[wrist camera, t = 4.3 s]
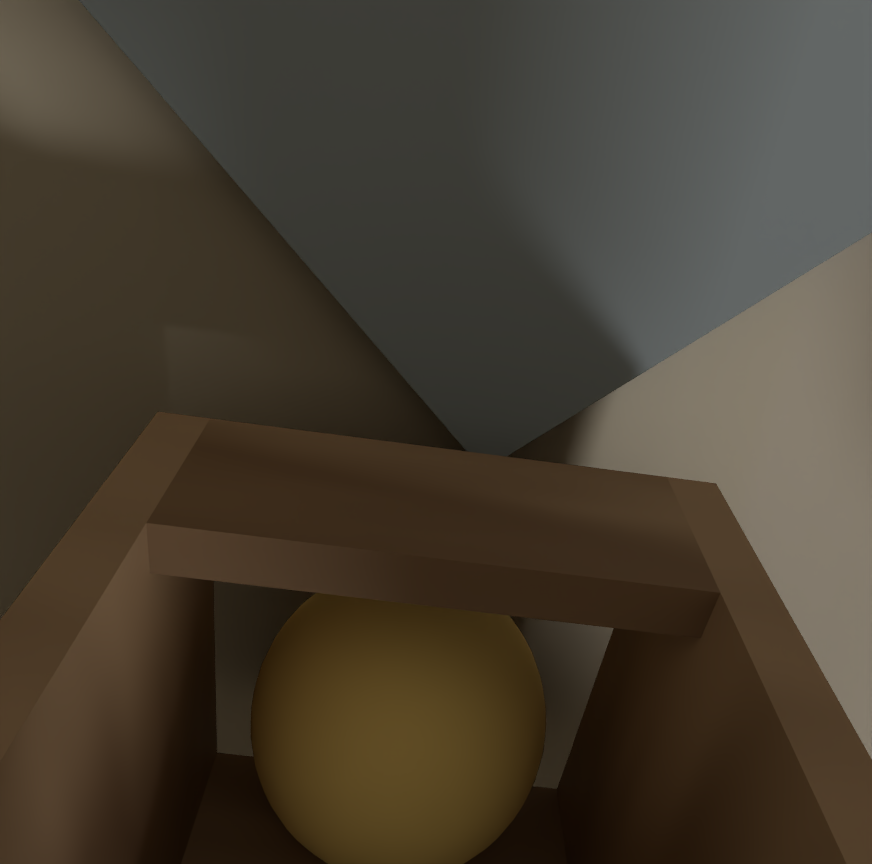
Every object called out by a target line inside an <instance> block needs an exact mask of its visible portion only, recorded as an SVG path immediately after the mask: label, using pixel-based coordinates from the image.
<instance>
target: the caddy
mask: <svg viewBox="0 0 872 864" xmlns="http://www.w3.org/2000/svg"><path fill="white" fill-rule="evenodd" d="M214 581H220V582H229V583H237V584H246V585H254V586H263V587H271V588H280V589H288V590H296V591H305V592H313V593H322V594H330V595H339V596H347V597H356V598H364V599H373V600H381V601H390V602H398V603H406V604H415V605H423V606H432V607H440V608H449V609H457V610H466V611H474V612H483V613H491V614H500V615H508V616H517V617H525V618H533V619H542V620H550V621H559V622H567V623H576V624H584V625H593V626H601V627H610V628H614V629H613V632H612V635H611V638H610V640H609V643H608V646H607V649H606V652H605V655H604V658H603V660H602V663H601V666H600V669H599V672H598V675H597V677H596V680H595V683H594V686H593V689H592V692H591V694H590V697H589V700H588V703H587V706H586V709H585V711H584V714H583V717H582V720H581V723H580V726H579V729H578V731H577V734H576V737H575V740H574V743H573V746H572V748H571V751H570V754H569V757H568V760H567V763H566V765H565V768H564V771H563V774H562V777H561V780H560V782H559V785H558V788H557V789H552V788H542V787H533V786H532V788H531V790H530V793H529V795H528V797H527V799H526V800H525V802H524V804H523V806H522V808H521V809H520V811H519V812H518V814H517V815H516V817H515V818H514V820H513V821H512V822H511V823H510V824H509V826H508V827H507V828H506V829H505V830H504V831H503V833H502V834H501V835H500V836H499V837H498V838H497V839H496V840H495V841H494V842H493V843H492V844H491V845H490V846H489V847H487V848H486V849H485V850H484V851H482V852H481V853H479V854H478V855H476V856H475V857H473V858H472V859H470V860H469V861H467V862H466V863H464V864H872V759H871V758H870V756H869V754H868V752H867V751H866V749H865V747H864V745H863V743H862V742H861V740H860V738H859V736H858V735H857V733H856V731H855V729H854V727H853V726H852V724H851V722H850V720H849V719H848V717H847V715H846V713H845V711H844V710H843V708H842V706H841V704H840V703H839V701H838V699H837V697H836V696H835V694H834V692H833V690H832V688H831V687H830V685H829V683H828V681H827V680H826V678H825V676H824V674H823V672H822V671H821V669H820V667H819V665H818V664H817V662H816V660H815V658H814V656H813V655H812V653H811V651H810V649H809V648H808V646H807V644H806V642H805V641H804V639H803V637H802V635H801V633H800V632H799V630H798V628H797V626H796V625H795V623H794V621H793V619H792V617H791V616H790V614H789V612H788V610H787V609H786V607H785V605H784V603H783V601H782V600H781V598H780V596H779V594H778V593H777V591H776V589H775V587H774V586H773V584H772V582H771V580H770V578H769V577H768V575H767V573H766V571H765V570H764V568H763V566H762V564H761V562H760V561H759V559H758V557H757V555H756V554H755V552H754V550H753V548H752V546H751V545H750V543H749V541H748V539H747V538H746V536H745V534H744V532H743V530H742V529H741V527H740V525H739V523H738V522H737V520H736V518H735V516H734V515H733V513H732V511H731V509H730V507H729V506H728V504H727V502H726V500H725V499H724V497H723V495H722V493H721V491H720V490H719V488H718V486H717V484H716V483H708V482H700V481H692V480H684V479H677V478H669V477H661V476H653V475H646V474H638V473H630V472H622V471H615V470H607V469H599V468H591V467H584V466H576V465H568V464H560V463H553V462H545V461H537V460H529V459H521V458H514V457H506V456H498V455H490V454H483V453H475V452H467V451H459V450H452V449H444V448H436V447H428V446H421V445H413V444H405V443H397V442H389V441H382V440H374V439H366V438H358V437H351V436H343V435H335V434H327V433H320V432H312V431H304V430H296V429H289V428H281V427H273V426H265V425H257V424H250V423H242V422H234V421H226V420H219V419H211V418H203V417H195V416H188V415H180V414H172V413H164V412H157V413H156V415H155V416H154V417H153V419H152V420H151V421H150V423H149V424H148V425H147V426H146V428H145V429H144V430H143V432H142V433H141V434H140V436H139V437H138V438H137V440H136V441H135V442H134V444H133V445H132V446H131V448H130V449H129V450H128V452H127V453H126V454H125V456H124V457H123V458H122V460H121V461H120V462H119V463H118V465H117V466H116V467H115V469H114V470H113V471H112V473H111V474H110V475H109V477H108V478H107V479H106V481H105V482H104V483H103V485H102V486H101V487H100V489H99V490H98V491H97V493H96V494H95V495H94V497H93V498H92V499H91V501H90V502H89V503H88V504H87V506H86V507H85V508H84V510H83V511H82V512H81V514H80V515H79V516H78V518H77V519H76V520H75V522H74V523H73V524H72V526H71V527H70V528H69V530H68V531H67V532H66V534H65V535H64V536H63V538H62V539H61V540H60V542H59V543H58V544H57V545H56V547H55V548H54V549H53V551H52V552H51V553H50V555H49V556H48V557H47V559H46V560H45V561H44V563H43V564H42V565H41V567H40V568H39V569H38V571H37V572H36V573H35V575H34V576H33V577H32V579H31V580H30V581H29V583H28V584H27V585H26V586H25V588H24V589H23V590H22V592H21V593H20V594H19V596H18V597H17V598H16V600H15V601H14V602H13V604H12V605H11V606H10V608H9V609H8V610H7V612H6V613H5V614H4V616H3V617H2V618H1V620H0V864H328V863H326V862H324V861H323V860H321V859H320V858H318V857H317V856H315V855H314V854H313V853H311V852H310V851H309V850H308V849H307V848H305V847H304V846H303V845H302V844H301V843H300V842H298V841H297V840H296V839H295V838H294V837H293V835H292V834H291V833H290V832H289V831H288V830H287V829H286V827H285V826H284V824H283V823H282V822H281V820H280V819H279V817H278V816H277V814H276V813H275V811H274V810H273V808H272V807H271V805H270V803H269V801H268V799H267V797H266V795H265V793H264V790H263V787H262V785H261V782H260V779H259V776H258V773H257V770H256V767H255V761H254V757H252V756H243V755H233V754H224V753H217V729H216V679H215V630H214Z"/></svg>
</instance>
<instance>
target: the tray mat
mask: <svg viewBox="0 0 872 864" xmlns="http://www.w3.org/2000/svg"><path fill="white" fill-rule="evenodd" d="M79 1H80V2H81V3H82V4H83V5H84V7H85V8H86V9H87V10H88V11H89V12H90V14H91V15H92V16H93V17H94V18H95V19H96V21H97V22H98V23H99V24H100V25H101V26H102V28H103V29H104V30H105V31H106V32H107V33H108V35H109V36H110V37H111V38H112V39H113V40H114V42H115V43H116V44H117V45H118V46H119V47H120V48H121V50H122V51H123V52H124V53H125V54H126V55H127V57H128V58H129V59H130V60H131V61H132V62H133V64H134V65H135V66H136V67H137V68H138V69H139V71H140V72H141V73H142V74H143V75H144V76H145V78H146V79H147V80H148V81H149V82H150V83H151V85H152V86H153V87H154V88H155V89H156V90H157V92H158V93H159V94H160V95H161V96H162V97H163V99H164V100H165V101H166V102H167V103H168V104H169V105H170V107H171V108H172V109H173V110H174V111H175V112H176V114H177V115H178V116H179V117H180V118H181V119H182V121H183V122H184V123H185V124H186V125H187V126H188V128H189V129H190V130H191V131H192V132H193V133H194V135H195V136H196V137H197V138H198V139H199V140H200V142H201V143H202V144H203V145H204V146H205V147H206V149H207V150H208V151H209V152H210V153H211V154H212V156H213V157H214V158H215V159H216V160H217V161H218V162H219V164H220V165H221V166H222V167H223V168H224V169H225V171H226V172H227V173H228V174H229V175H230V176H231V178H232V179H233V180H234V181H235V182H236V183H237V185H238V186H239V187H240V188H241V189H242V190H243V192H244V193H245V194H246V195H247V196H248V197H249V199H250V200H251V201H252V202H253V203H254V204H255V206H256V207H257V208H258V209H259V210H260V211H261V212H262V214H263V215H264V216H265V217H266V218H267V219H268V221H269V222H270V223H271V224H272V225H273V226H274V228H275V229H276V230H277V231H278V232H279V233H280V235H281V236H282V237H283V238H284V239H285V240H286V242H287V243H288V244H289V245H290V246H291V247H292V249H293V250H294V251H295V252H296V253H297V254H298V256H299V257H300V258H301V259H302V260H303V261H304V263H305V264H306V265H307V266H308V267H309V268H310V269H311V271H312V272H313V273H314V274H315V275H316V276H317V278H318V279H319V280H320V281H321V282H322V283H323V285H324V286H325V287H326V288H327V289H328V290H329V292H330V293H331V294H332V295H333V296H334V297H335V299H336V300H337V301H338V302H339V303H340V304H341V306H342V307H343V308H344V309H345V310H346V311H347V313H348V314H349V315H350V316H351V317H352V318H353V319H354V321H355V322H356V323H357V324H358V325H359V326H360V328H361V329H362V330H363V331H364V332H365V333H366V335H367V336H368V337H369V338H370V339H371V340H372V342H373V343H374V344H375V345H376V346H377V347H378V349H379V350H380V351H381V352H382V353H383V354H384V356H385V357H386V358H387V359H388V360H389V361H390V363H391V364H392V365H393V366H394V367H395V368H396V370H397V371H398V372H399V373H400V374H401V375H402V376H403V378H404V379H405V380H406V381H407V382H408V383H409V385H410V386H411V387H412V388H413V389H414V390H415V392H416V393H417V394H418V395H419V396H420V397H421V399H422V400H423V401H424V402H425V403H426V404H427V406H428V407H429V408H430V409H431V410H432V411H433V413H434V414H435V415H436V416H437V417H438V418H439V420H440V421H441V422H442V423H443V424H444V425H445V426H446V428H447V429H448V430H449V431H450V432H451V433H452V435H453V436H454V437H455V438H456V439H457V440H458V442H459V443H460V444H461V445H462V446H463V447H464V449H465V450H466V451H467V452H475V453H483V454H490V455H498V456H508V455H510V454H511V453H513V452H515V451H516V450H518V449H519V448H521V447H523V446H524V445H526V444H528V443H529V442H531V441H533V440H534V439H536V438H537V437H539V436H541V435H542V434H544V433H546V432H547V431H549V430H550V429H552V428H554V427H555V426H557V425H559V424H560V423H562V422H563V421H565V420H567V419H568V418H570V417H572V416H573V415H575V414H577V413H578V412H580V411H581V410H583V409H585V408H586V407H588V406H590V405H591V404H593V403H594V402H596V401H598V400H599V399H601V398H603V397H604V396H606V395H607V394H609V393H611V392H612V391H614V390H616V389H617V388H619V387H620V386H622V385H624V384H625V383H627V382H629V381H630V380H632V379H634V378H635V377H637V376H638V375H640V374H642V373H643V372H645V371H647V370H648V369H650V368H651V367H653V366H655V365H656V364H658V363H660V362H661V361H663V360H664V359H666V358H668V357H669V356H671V355H673V354H674V353H676V352H678V351H679V350H681V349H682V348H684V347H686V346H687V345H689V344H691V343H692V342H694V341H695V340H697V339H699V338H700V337H702V336H704V335H705V334H707V333H708V332H710V331H712V330H713V329H715V328H717V327H718V326H720V325H722V324H723V323H725V322H726V321H728V320H730V319H731V318H733V317H735V316H736V315H738V314H739V313H741V312H743V311H744V310H746V309H748V308H749V307H751V306H752V305H754V304H756V303H757V302H759V301H761V300H762V299H764V298H766V297H767V296H769V295H770V294H772V293H774V292H775V291H777V290H779V289H780V288H782V287H783V286H785V285H787V284H788V283H790V282H792V281H793V280H795V279H796V278H798V277H800V276H801V275H803V274H805V273H806V272H808V271H810V270H811V269H813V268H814V267H816V266H818V265H819V264H821V263H823V262H824V261H826V260H827V259H829V258H831V257H832V256H834V255H836V254H837V253H839V252H840V251H842V250H844V249H845V248H847V247H849V246H850V245H852V244H854V243H855V242H857V241H858V240H860V239H862V238H863V237H865V236H867V235H868V234H870V233H871V232H872V0H79Z"/></svg>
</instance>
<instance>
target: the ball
mask: <svg viewBox="0 0 872 864" xmlns="http://www.w3.org/2000/svg"><path fill="white" fill-rule="evenodd" d="M545 731H546V706H545V699H544V692H543V686H542V681H541V677H540V674H539V671H538V668H537V665H536V662H535V659H534V657H533V654H532V651H531V649H530V648H529V646H528V644H527V642H526V640H525V638H524V636H523V635H522V633H521V632H520V630H519V629H518V627H517V626H516V624H515V623H514V622H513V620H512V619H511V617H510V616H508V615H500V614H491V613H483V612H474V611H466V610H457V609H449V608H440V607H432V606H423V605H415V604H406V603H398V602H390V601H381V600H373V599H364V598H356V597H347V596H339V595H330V594H322V593H315V594H314V595H313V596H311V597H310V598H309V599H308V600H307V601H305V602H304V603H303V604H302V605H301V606H300V607H299V608H298V609H297V610H296V611H295V612H294V613H293V615H292V616H291V617H290V618H289V619H288V620H287V622H286V623H285V624H284V625H283V627H282V628H281V630H280V631H279V633H278V634H277V636H276V637H275V639H274V641H273V643H272V645H271V647H270V649H269V651H268V653H267V655H266V657H265V659H264V661H263V663H262V666H261V669H260V672H259V675H258V678H257V682H256V686H255V689H254V695H253V701H252V707H251V742H252V749H253V755H254V761H255V767H256V770H257V773H258V776H259V779H260V782H261V785H262V787H263V790H264V793H265V795H266V797H267V799H268V801H269V803H270V805H271V807H272V808H273V810H274V811H275V813H276V814H277V816H278V817H279V819H280V820H281V822H282V823H283V824H284V826H285V827H286V829H287V830H288V831H289V832H290V833H291V834H292V835H293V837H294V838H295V839H296V840H297V841H298V842H300V843H301V844H302V845H303V846H304V847H305V848H307V849H308V850H309V851H310V852H311V853H313V854H314V855H315V856H317V857H318V858H320V859H321V860H323V861H324V862H326V863H328V864H464V863H466V862H467V861H469V860H470V859H472V858H473V857H475V856H476V855H478V854H479V853H481V852H482V851H484V850H485V849H486V848H487V847H489V846H490V845H491V844H492V843H493V842H494V841H495V840H496V839H497V838H498V837H499V836H500V835H501V834H502V833H503V831H504V830H505V829H506V828H507V827H508V826H509V824H510V823H511V822H512V821H513V820H514V818H515V817H516V815H517V814H518V812H519V811H520V809H521V808H522V806H523V804H524V802H525V800H526V799H527V797H528V795H529V793H530V790H531V788H532V786H533V784H534V782H535V779H536V776H537V772H538V769H539V765H540V762H541V758H542V754H543V749H544V741H545Z"/></svg>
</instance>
